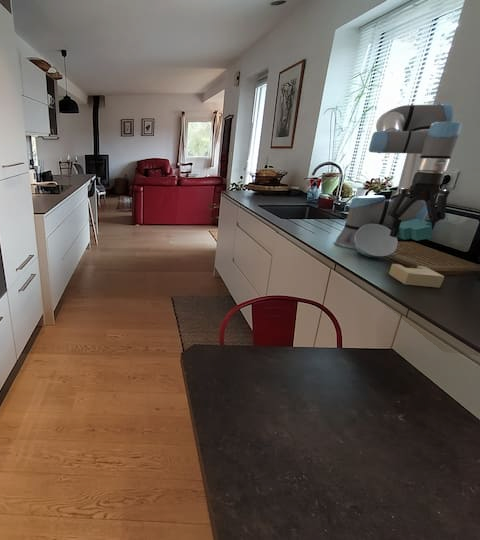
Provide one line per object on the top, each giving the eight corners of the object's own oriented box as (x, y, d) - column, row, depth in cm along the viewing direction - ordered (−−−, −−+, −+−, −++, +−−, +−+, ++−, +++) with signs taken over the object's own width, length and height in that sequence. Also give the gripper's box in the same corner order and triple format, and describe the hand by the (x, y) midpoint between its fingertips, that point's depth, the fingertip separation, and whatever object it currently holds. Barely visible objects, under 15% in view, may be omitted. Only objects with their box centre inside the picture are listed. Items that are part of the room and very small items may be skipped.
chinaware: (360, 268, 137) (369, 261, 130) (339, 239, 143) (347, 231, 136) (395, 256, 136) (406, 248, 129) (372, 228, 142) (382, 218, 135)
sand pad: (388, 274, 117) (392, 263, 115) (420, 277, 114) (424, 266, 113) (404, 284, 107) (408, 273, 106) (440, 287, 105) (444, 276, 104)
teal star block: (392, 234, 121) (391, 224, 120) (418, 228, 118) (417, 218, 117) (410, 242, 110) (409, 231, 109) (439, 236, 108) (438, 224, 107)
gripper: (399, 171, 107) (378, 237, 115) (477, 174, 103) (450, 242, 111) (387, 170, 114) (368, 232, 122) (460, 173, 110) (436, 237, 118)
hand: (407, 237), depth 116 cm, fingers closed on teal star block, 9 cm apart
